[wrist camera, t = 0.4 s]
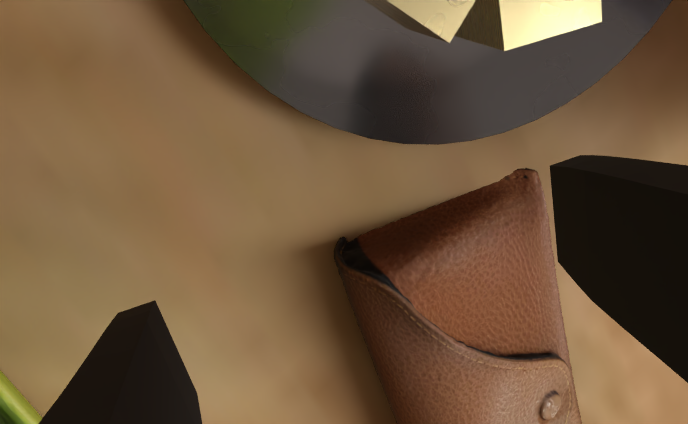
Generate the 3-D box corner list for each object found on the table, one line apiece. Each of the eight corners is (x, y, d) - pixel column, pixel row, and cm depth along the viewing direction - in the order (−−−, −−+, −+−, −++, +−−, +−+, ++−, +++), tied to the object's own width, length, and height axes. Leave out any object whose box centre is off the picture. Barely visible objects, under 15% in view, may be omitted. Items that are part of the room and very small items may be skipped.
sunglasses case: (600, 470, 30) (616, 613, 25) (460, 469, 33) (447, 598, 27) (536, 149, 22) (540, 258, 17) (357, 182, 25) (310, 285, 19)
